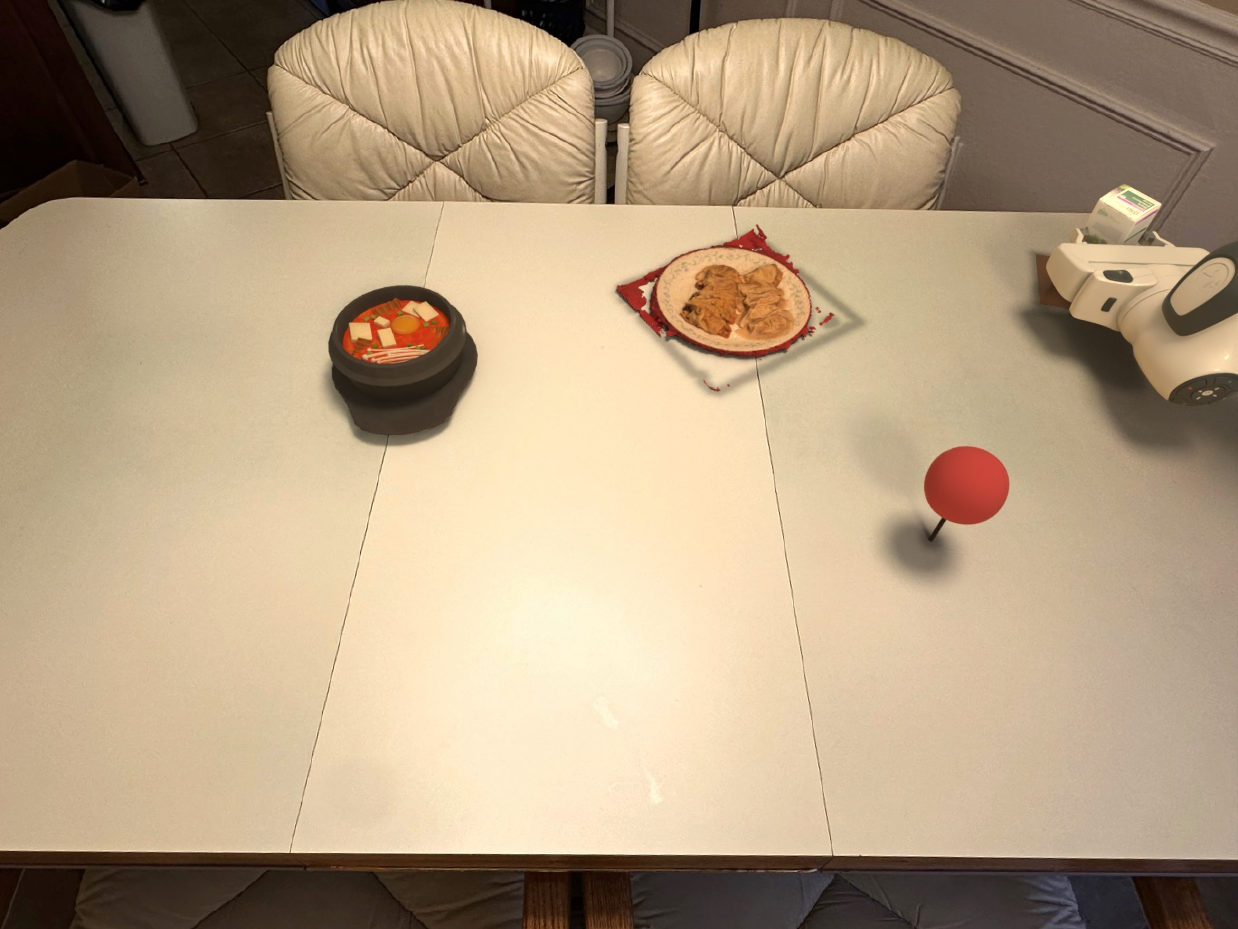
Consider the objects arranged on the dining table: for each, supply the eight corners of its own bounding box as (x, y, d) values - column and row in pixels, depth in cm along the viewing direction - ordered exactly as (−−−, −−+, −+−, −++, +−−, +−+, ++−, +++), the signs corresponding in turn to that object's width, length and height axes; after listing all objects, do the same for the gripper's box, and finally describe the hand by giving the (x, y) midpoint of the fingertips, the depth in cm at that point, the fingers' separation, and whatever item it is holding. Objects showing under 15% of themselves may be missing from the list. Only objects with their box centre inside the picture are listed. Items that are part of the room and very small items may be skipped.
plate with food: (614, 296, 108) (614, 277, 105) (752, 236, 116) (755, 217, 114) (713, 400, 96) (716, 382, 94) (858, 326, 105) (865, 307, 102)
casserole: (483, 437, 91) (473, 390, 85) (327, 452, 89) (305, 406, 83) (476, 303, 106) (468, 254, 99) (343, 314, 104) (325, 265, 98)
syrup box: (1110, 286, 109) (1165, 201, 97) (1084, 303, 107) (1137, 219, 96) (1077, 265, 112) (1126, 180, 100) (1051, 281, 110) (1098, 197, 98)
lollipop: (967, 530, 84) (1027, 448, 73) (954, 584, 80) (1016, 506, 68) (900, 505, 86) (948, 421, 74) (884, 556, 82) (933, 476, 70)
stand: (1115, 274, 113) (1118, 268, 113) (1124, 325, 106) (1128, 319, 105) (1033, 258, 115) (1036, 253, 114) (1036, 308, 108) (1040, 302, 107)
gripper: (1251, 283, 91) (1201, 216, 99) (1084, 277, 91) (1048, 211, 99) (1217, 322, 96) (1172, 255, 104) (1059, 316, 96) (1027, 250, 104)
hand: (1111, 233), depth 102 cm, fingers open, 8 cm apart
